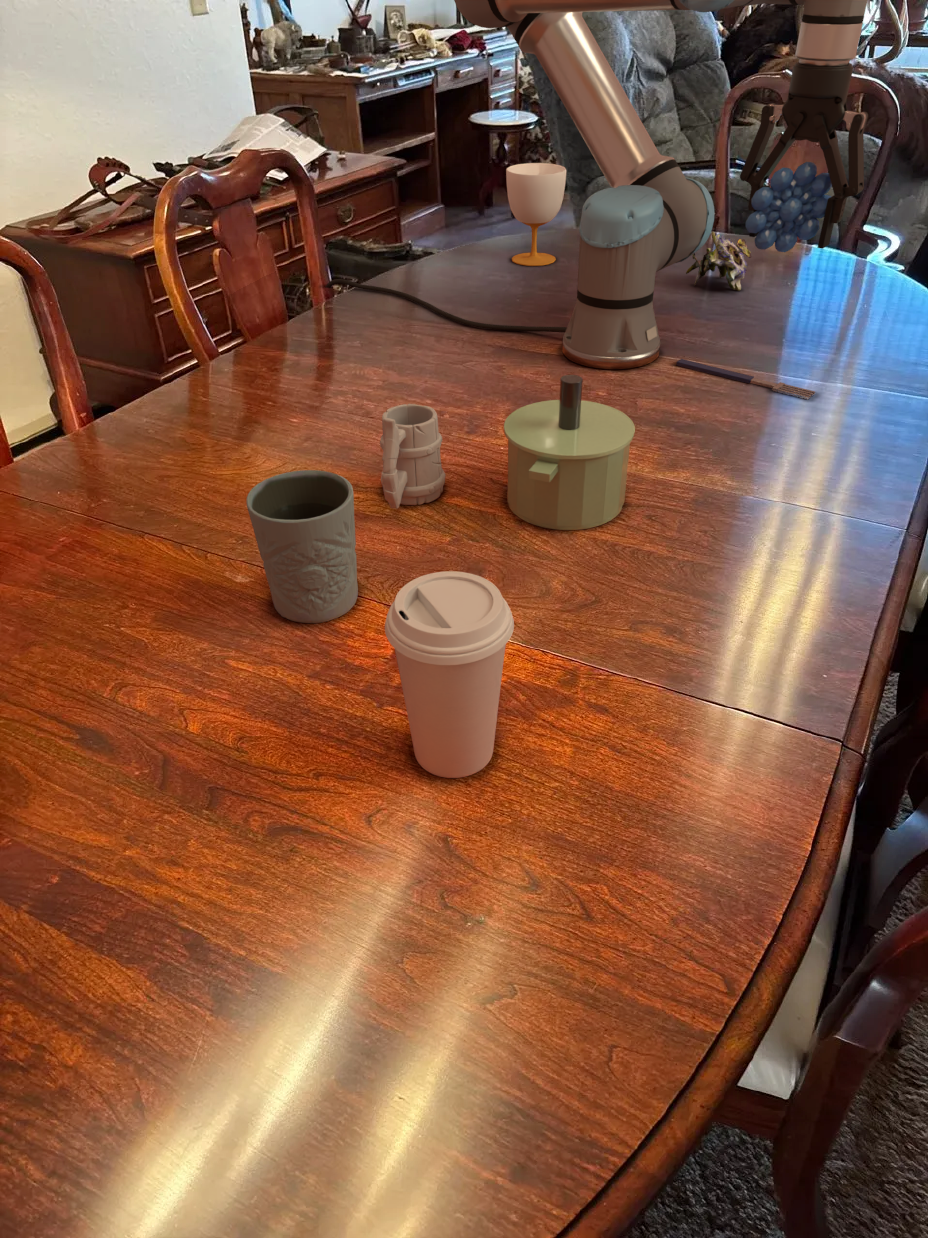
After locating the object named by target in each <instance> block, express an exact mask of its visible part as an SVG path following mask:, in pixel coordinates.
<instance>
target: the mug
mask: <svg viewBox="0 0 928 1238" xmlns="http://www.w3.org/2000/svg"><path fill="white" fill-rule="evenodd" d="M381 425H382V426H381V427H382V435H381V436H380V440H379V447H380V448H381V450H382V458H381V460H382V471H381V475H380V483H381V486H382V491H383V494H384V499H385V501H387V503H388V505H389V508H390V509H394V510H395V509H398V508H400V505H403V506H404V505H405V506H417V505H423V504H424V503H425V504H428V503H432V502H434V501H436V500H437V499H439V498H440V496H441V494H442V493H443V491H444V486H445V483H446V475H447V474H446V472H445V470H444V469H443V468H442V467H443V466H442V459H441V458H442V457H441V446H442V443H443V436H442V434H441V433H440V430H439V419H438V413H437V411H436V410H435V408H433V407H431V406H428V405H421V404H416V403H404V404H398V405H394V406H391V407H389V408H387V409H386V410H385V411H384V412H382V415H381Z"/></svg>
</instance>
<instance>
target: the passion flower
mask: <svg viewBox="0 0 928 1238" xmlns="http://www.w3.org/2000/svg"><path fill="white" fill-rule="evenodd" d="M710 236H711V238H712V239H711V240H712V242H713V245H714V246H715V249H713V251H711V249H712V248H710V247H706V253H705V254H704V255H703V257H702V259H700V260H698V259H697V257H696V252H695V253H694V254H692V255H691V256H692V259H693V260H695V262H694V263H692V265H691V266H690V267H688V268H687V270H686V272H685V274H686V275H687V274H689V273H691V272H692V271H694V270H696V269H698V270H697V274H696V277H695V280H694V281H695V282H694V284H693V286H694V287H695V286H696V284H697V283H698V281H699V280H701V278H703V277H704V276H705V275H706V274H707V272H708V271H711V272H712V273H713V272H715V270H716V267H717V270H718V272H719V279H722V278H724V277H725V279H726V281H727V285H728V287H729V288H730V289H732V290H733V291H737V292H739V291H741V290H742V285H741V281H742V280H743V279H744V278H745V275H746V273H747V267H748V262H747V261H746V260H745V256H746V257H747V258H749V259H751V258H752V255H751V254H752V252H751V251H750V249H749V248H748V246H747V241H746V240H745V238H744V239H741V238H739V239H737V242H736V243H734V241H731V239H730V238H726V237H724V235H720V234H717V235H716V233H715V231H711V234H710ZM744 255H745V256H744Z"/></svg>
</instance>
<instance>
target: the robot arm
mask: <svg viewBox="0 0 928 1238" xmlns="http://www.w3.org/2000/svg"><path fill="white" fill-rule="evenodd" d="M453 2H454V4H455V6H456V8H457V10H458V11H459V12H460V14H461V15H462V16H463V17H464V18H465V19H466V20H467V21H468V22H470V23H471V24H473V25H475V26H477V27H479V28H483V29H484V28H485V29H501V28H507V29H508V31H509V32H510V34H511V35H512V38H513V39H514V41H515V43H516V44H517V46H518V48H519V50H520V51H521V52H522V53H525V54H532V55H535V57H536V58H537V61H538V62H539V64H540V66H541V68H542V69H543V71H544V73H545V75H546V77H547V78H548V79H549V81H550V83H551V85H552V86H553V88H554V90H555V92H556V94H557V95H558V97H559V99H560V100H561V102H562V104H563V106H564V108H565V110H566V112H567V113H568V114H569V116H570V118H571V120H572V121H573V123H574V125H575V127H576V129H577V131H578V132H579V134H580V136H581V137H582V139H583V140H584V143H585V144H586V146H587V148H588V149H589V151H590V153H591V155H592V156H593V158H594V160H595V162H596V164H597V165H598V167H599V169H600V171H601V173H602V174H603V176H604V178H605V179H606V181H607V183H608V185H609V186H610V187H607V188H604V189H601V190H597V191H596V192H594V193H592V194H591V195H590V196H589V197H587V199H586V200H585V202H584V203H583V206H582V210H581V218H580V221H579V227H578V228H579V229H578V232H579V248H578V266H577V284H576V286H577V287H576V301H575V305H574V308H573V310H572V314H571V316H570V318H569V322H568V324H567V326H544V325H543V326H541V325H540V326H535V325H534V326H530V325H529V326H526V325H507V324H506V325H505V324H492V323H484V322H479V321H473V320H468V319H465V318H462V317H460V316H457V315H454V314H452V313H450V312H446V311H445V310H442V309H440V308H438V307H437V306H435V305H433V304H431V303H430V302H427V301H425V300H422V299H420V298H418V297H416V296H413V295H412V294H409V293H405V292H403V291H400V290H396V289H392V288H387V287H381V286H375V285H369V284H363V283H362V284H361V283H358V282H355V281H351V280H348V279H344V278H334V279H332V280H330V281H329V282H328V283H327V284H325V287H324V288H326V289H330V288H331V287H332V286H334V285H337V284H343V285H347V286H350V287H353V288H356V289H360V290H366V291H372V292H378V293H384V294H390V295H394V296H397V297H401V298H404V299H406V300H409V301H412V302H414V303H416V304H418V305H420V306H422V307H424V308H426V309H428V310H431V311H432V312H434V313H435V314H437V315H439V316H442V317H443V318H446V319H448V320H451V321H453V322H456V323H459V324H462V325H465V326H469V327H472V328H473V327H474V328H479V329H484V330H492V331H494V330H495V331H506V332H507V331H508V332H509V331H511V332H528V333H529V332H533V333H534V332H535V333H538V332H541V333H542V332H543V333H547V332H548V333H563V334H564V335H563V337H562V353H563V355H564V357H565V358H567V359H568V360H570V361H571V362H574V363H575V364H578V365H581V366H584V367H585V366H586V367H589V368H595V369H603V370H626V369H627V370H628V369H634V368H639V367H642V366H646V365H648V364H651V363H652V362H654V361H656V360H657V359H658V357H659V355H660V350H661V338H660V334H659V329H658V324H657V319H656V315H655V310H654V305H653V304H654V303H653V302H654V295H655V284H656V275H657V272H659V271H661V270H664V269H666V268H668V267H670V266H672V265H675V264H678V263H681V262H684V261H686V260H687V259H688V258H690V257H691V256H693V255H692V254H694V253H695V254H696V253H697V252H698V251H700V249H701V248H703V247H704V245H705V244H706V242H707V241H708V239H710V236H711V232H713V226H714V222H715V206H714V205H715V204H714V201H713V199H712V195H711V193H710V192H709V190H708V189H707V187H706V186H704V184H702V183H701V182H700V181H698V180H696V179H694V178H691V177H687V176H685V175H684V173H683V171H682V169H681V168H680V165H679V163H678V162H677V160H676V159H675V158H674V157H673V156H667V155H663V154H661V153H660V152H659V150H658V148H657V147H656V144H655V142H654V141H653V139H652V137H651V136H650V134H649V133H648V131H647V129H646V127H645V125H644V123H643V121H642V120H641V119H640V117H639V115H638V113H637V111H636V110H635V107H634V106H633V104H632V102H631V100H630V99H629V97H628V95H627V93H626V91H625V90H624V88H623V86H622V85H621V83H620V81H619V79H618V77H617V76H616V74H615V72H614V70H613V69H612V67H611V65H610V63H609V61H608V60H607V58H606V56H605V54H604V53H603V51H602V49H601V46H599V44H598V42H597V40H596V38H595V36H594V35H593V33H592V31H591V30H590V28H589V26H588V24H587V23H586V21H585V19H584V17H583V13H595V12H596V13H599V12H602V13H603V12H645V11H646V12H649V11H650V12H651V11H693V12H697V13H713V12H719V11H721V10H724V9H730V8H739V7H746V6H747V7H748V6H756V5H792V6H803V10H802V16H801V23H800V27H799V33H798V37H797V43H796V49H795V54H794V56H795V57H796V59H798V61H796V62H795V64H793V65H792V71H791V76H790V82H789V89H788V94H787V95H788V96H787V99H786V101H785V102H784V104H776V103H774V102H772V103H769V104H767V105H764V106H763V107H762V108H761V115H760V124H759V127H758V129H757V131H756V135H755V137H754V138H753V142H752V145H751V147H750V149H749V152H748V154H747V157H746V159H745V162H744V165H743V167H742V169H741V171H740V174H739V180H741V181H742V182H746V183H748V184H749V185H750V193H749V200H748V204H747V205H748V206H747V208H748V211H751V212H755V211H757V210H755V209H754V208H753V207H752V204H751V199H752V197H753V196H754V194H755V192H756V191H757V190H759V189H761V188H763V187H770V188H771V186H770V185H764V184H766V183H767V180H768V179H769V177H770V176H771V174H772V173H773V172H774V170H775V169H776V168H777V166H778V164H779V163H780V161H781V160H782V159H783V157H784V156H785V154H786V153H787V152H788V150H789V149H790V147H791V146H792V145H793V144H794V143H795V142H796V141H805V140H806V141H808V142H811V143H819V147H820V149H821V150H822V153H823V156H824V161H825V164H826V165H825V166H826V168H827V173H829V176H830V180H831V184H832V187H831V188H832V190H833V191H832V192H833V195H832V196H831V197H830V198H828V201H827V206H826V210H825V215H824V217H823V221H822V225H821V229H820V234H819V238H818V244H817V249H821V250H822V249H824V248H826V247H827V246H829V245H830V243H831V239H832V234H833V229H834V225H835V224H839V223H840V222H841V221H842V219H843V218H844V217H843V216H844V212H845V208H846V203H847V199H848V198H849V197H855V196H857V195H858V194H860V193H862V192H863V191H864V189H865V164H864V161H865V160H864V159H865V157H864V156H865V155H864V154H865V153H864V151H865V150H864V148H865V146H864V145H865V144H864V131H865V128H866V126H867V122H868V119H869V114H868V112H867V111H862V112H856V111H852V110H848V105H847V99H848V94H849V90H850V86H851V81H852V77H853V76H852V75H853V72H854V66H853V63H851V62H850V61H851V60H854V59H855V58H856V56H857V51H858V49H859V48H858V47H859V43H860V38H861V34H862V30H863V25H864V19H865V14H866V9H867V4H868V0H453ZM781 116H783V119H784V121H785V124H786V126H787V127H786V128H785V130H784V131H783V133H782V134H781V136H780V137H779V140H778V141H777V143H776V144H775V146H774V148H772V150H771V152H770V154H769V155H768V156H767V157H766V159H765V160H764V162H763V163H762V165H761V166H760V167H759V165H760V162H761V160H762V157H763V155H764V152H765V151H766V148H767V146H768V143H769V140H770V138H771V135H772V133H773V131H774V128H775V126H776V123H777V122H778V121H779V120H780V118H781ZM843 121H844V122H845V128H846V130H847V131H848V134H847V135H848V136H847V139H848V140H847V147H848V149H847V150H848V153H847V155H848V156H847V157H848V158H847V159H848V162H847V163H848V179H847V175H846V171H845V167H844V163H843V160H842V155H841V152H840V147H839V138H838V134H837V131H836V129H837V128H838V127H839V126H840V125H841V124H842V123H843ZM758 167H759V169H758ZM757 169H758V170H757ZM758 233H759V232H757V233H749V236H748V237H751V238H756V236H757V234H758Z"/></svg>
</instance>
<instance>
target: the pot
mask: <svg viewBox="0 0 928 1238" xmlns="http://www.w3.org/2000/svg"><path fill="white" fill-rule="evenodd" d="M630 449H631V443H630V444H628V445H627V446H626V447H625V448H623V449H621V450H619V451H617V452H615V453H612V454H609V455H606V456H602V457H596V458H590V459H575V460H572V459H555V458H548V457H543V456H538V455H535V454H532V453H529V452H526V451H524V450H522V449H520V448H518V447H516V446H515V445H513V444H512V443H511V442H510V441H509V440H508V439H507V473H506V474H507V475H506V476H507V477H506V479H507V480H506V484H507V485H506V487H507V488H506V491H507V493H506V495H507V497H506V499H507V505H508V507H509V509H510V510H511V512H512V513H513V514H514V515H515V516H517V517H518V518H519V519H521V520H523V521H524V522H526V523H529V524H531V525H533V526H537V527H540V528H545V529H550V530H557V531H578V530H587V529H592V528H595V527H599V526H602V525H604V524H607V523H609V522H611V521H612V520H614V519H615V518H617V516H619V514H620V513H621V512H622V509H623V507H624V503H625V502H626V501H625V499H626V490H627V481H628V480H627V479H628V471H629V468H628V467H629V460H630Z"/></svg>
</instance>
